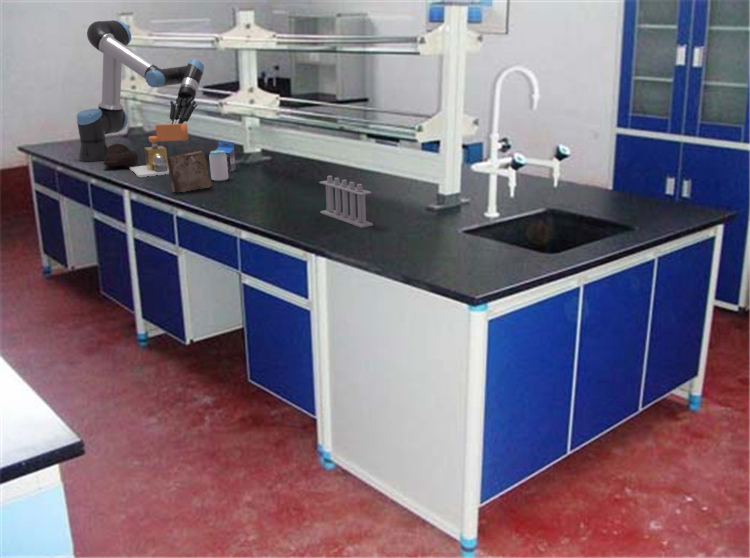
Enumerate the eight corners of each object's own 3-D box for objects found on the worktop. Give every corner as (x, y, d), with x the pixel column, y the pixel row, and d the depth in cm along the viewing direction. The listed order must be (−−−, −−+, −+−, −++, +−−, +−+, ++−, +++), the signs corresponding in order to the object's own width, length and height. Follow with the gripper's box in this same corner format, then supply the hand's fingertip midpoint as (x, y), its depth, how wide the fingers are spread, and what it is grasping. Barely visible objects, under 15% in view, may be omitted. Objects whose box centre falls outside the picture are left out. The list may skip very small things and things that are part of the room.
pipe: (133, 150, 348) (136, 140, 361) (99, 154, 346) (103, 145, 359) (138, 170, 352) (141, 160, 365) (104, 175, 350) (108, 165, 364)
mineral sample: (209, 186, 312) (205, 148, 307) (214, 188, 309) (210, 150, 304) (169, 192, 303) (165, 154, 298) (173, 194, 300) (169, 155, 295)
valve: (144, 165, 354) (140, 140, 350) (161, 163, 357) (158, 138, 353) (153, 172, 337) (149, 146, 333) (171, 170, 340) (168, 144, 336)
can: (228, 177, 327) (226, 149, 323) (228, 181, 321) (225, 152, 317) (211, 178, 326) (209, 150, 322) (211, 182, 320) (208, 153, 316)
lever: (148, 142, 341) (146, 126, 339) (149, 140, 345) (148, 124, 343) (187, 140, 342) (186, 124, 340) (189, 138, 347) (187, 123, 344)
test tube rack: (373, 225, 249) (371, 185, 245) (361, 228, 247) (360, 187, 243) (331, 211, 269) (329, 173, 264) (320, 213, 266) (318, 175, 262)
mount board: (129, 169, 352) (129, 167, 351) (176, 164, 360) (175, 162, 360) (139, 177, 333) (138, 175, 333) (187, 172, 342) (187, 169, 341)
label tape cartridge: (214, 170, 343) (212, 142, 339) (220, 168, 347) (217, 141, 343) (231, 171, 339) (228, 143, 335) (236, 170, 343) (234, 142, 339)
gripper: (205, 95, 356) (191, 138, 347) (178, 95, 360) (164, 138, 351) (198, 85, 349) (183, 128, 340) (171, 85, 353) (156, 128, 344)
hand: (174, 133), depth 345 cm, fingers closed
